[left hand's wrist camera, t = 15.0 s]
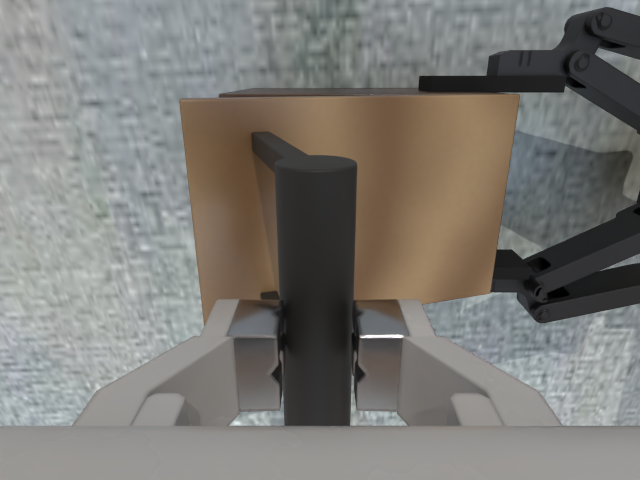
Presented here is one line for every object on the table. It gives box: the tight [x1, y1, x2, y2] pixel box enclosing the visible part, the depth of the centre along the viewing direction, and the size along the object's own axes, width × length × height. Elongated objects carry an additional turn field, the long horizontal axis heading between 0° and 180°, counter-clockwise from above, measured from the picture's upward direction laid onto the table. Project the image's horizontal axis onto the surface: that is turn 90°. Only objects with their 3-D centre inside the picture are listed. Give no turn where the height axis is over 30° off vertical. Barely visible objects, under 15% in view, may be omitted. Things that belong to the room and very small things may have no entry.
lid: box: [179, 93, 520, 426], centre depth 15 cm, size 14×9×9 cm
